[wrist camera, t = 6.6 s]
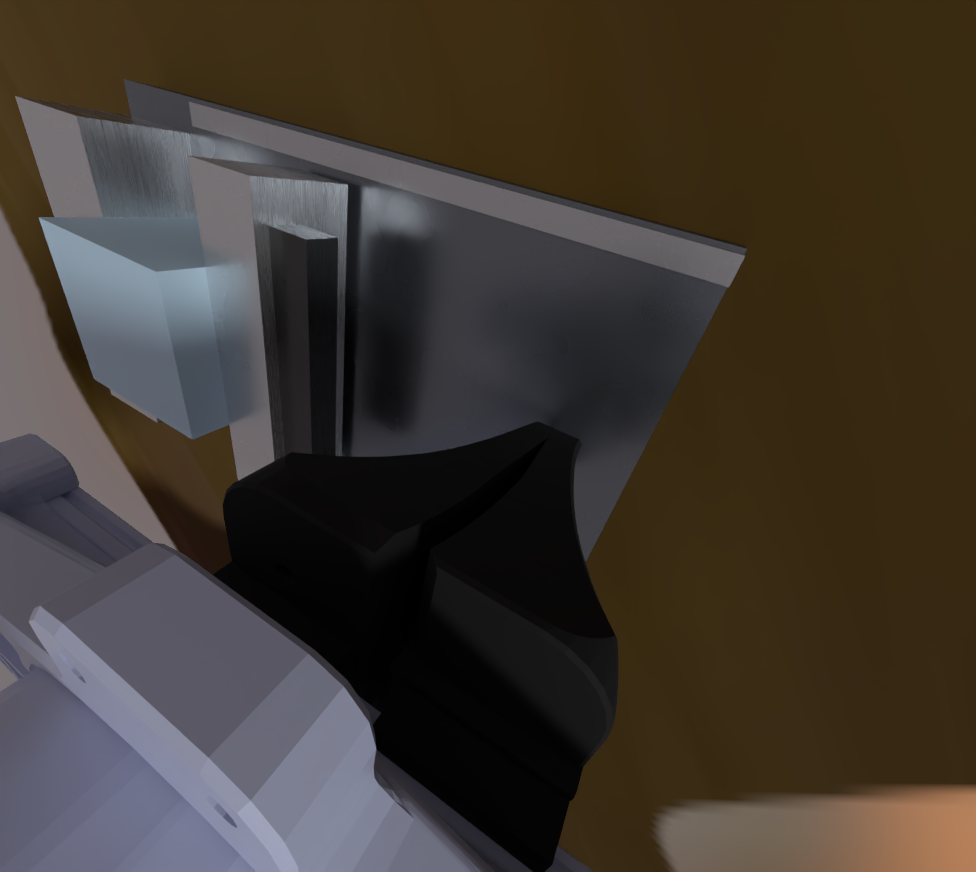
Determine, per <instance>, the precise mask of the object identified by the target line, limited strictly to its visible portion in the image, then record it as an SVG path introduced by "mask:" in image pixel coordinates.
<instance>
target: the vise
mask: <svg viewBox="0 0 976 872" xmlns="http://www.w3.org/2000/svg"><path fill="white" fill-rule="evenodd" d="M124 83H125V88H126V93H127V97H128V102H129V107H130V112H131V116H130V115H124V114H118V113H112V112H107V111H101V110H95V109H89V108H83V107H77V106H72V105H66V104H60V103H54V102H48V101H42V100H37V99H31V98H25V97H19V96H15V97H16V100H17V103H18V107H19V110H20V113H21V116H22V119H23V122H24V125H25V128H26V131H27V134H28V137H29V141H30V144H31V147H32V150H33V153H34V156H35V159H36V162H37V165H38V168H39V171H40V175H41V178H42V181H43V184H44V187H45V190H46V193H47V196H48V199H49V202H50V205H51V209H52V212H53V215H54V217H197V211H196V204H195V198H194V191H193V185H192V178H191V172H190V165H189V159H188V156H197V157H206V158H214V159H223V160H231V161H240V162H249V163H257V164H266V165H275V166H283V167H292V168H297V169H300V170H303V171H306V172H309V173H313V174H316V175H319V176H322V177H325V178H329V179H332V180H335V181H338V182H342V183H345V184H348V202H347V246H346V289H345V333H344V377H343V420H342V456H349V457H381V456H398V455H410V454H421V453H429V452H435V451H441V450H447V449H452V448H456V447H461V446H464V445H468V444H472V443H475V442H479V441H482V440H486V439H489V438H492V437H495V436H498V435H501V434H504V433H507V432H509V431H512V430H515V429H517V428H520V427H523V426H525V425H528V424H531V423H534V422H537V421H539V422H541V423H543V424H545V425H548V426H550V427H552V428H555V429H557V430H559V431H561V432H564V433H566V434H568V435H570V436H573V437H575V438H577V439H580V442H581V444H582V446H581V449H580V451H579V453H578V456H577V458H576V463H575V470H574V508H575V517H576V524H577V530H578V535H579V540H580V545H581V549H582V553H583V556H584V559H585V562H586V560H587V558H588V556H589V554H590V553H591V551H592V549H593V547H594V545H595V543H596V541H597V539H598V537H599V535H600V533H601V531H602V529H603V527H604V525H605V523H606V522H607V520H608V518H609V516H610V514H611V512H612V510H613V508H614V506H615V504H616V502H617V500H618V498H619V496H620V494H621V492H622V490H623V489H624V487H625V485H626V483H627V481H628V479H629V477H630V475H631V473H632V471H633V469H634V467H635V465H636V463H637V461H638V459H639V458H640V456H641V454H642V452H643V450H644V448H645V446H646V444H647V442H648V440H649V438H650V436H651V434H652V432H653V430H654V428H655V426H656V425H657V423H658V421H659V419H660V417H661V415H662V413H663V411H664V409H665V407H666V405H667V403H668V401H669V399H670V397H671V395H672V394H673V392H674V390H675V388H676V386H677V384H678V382H679V380H680V378H681V376H682V374H683V372H684V370H685V368H686V366H687V364H688V362H689V361H690V359H691V357H692V355H693V353H694V351H695V349H696V347H697V345H698V343H699V341H700V339H701V337H702V335H703V333H704V331H705V329H706V328H707V326H708V324H709V322H710V320H711V318H712V316H713V314H714V312H715V310H716V308H717V306H718V304H719V302H720V300H721V298H722V297H723V295H724V293H725V291H726V289H727V287H729V286H730V284H731V282H732V281H733V279H734V277H735V275H736V273H737V271H738V269H739V267H740V265H741V263H742V261H743V259H744V257H745V252H746V250H747V248H746V246H743V245H739V244H736V243H732V242H728V241H725V240H721V239H717V238H713V237H710V236H706V235H702V234H699V233H695V232H691V231H688V230H684V229H680V228H677V227H673V226H669V225H666V224H662V223H658V222H654V221H651V220H647V219H643V218H640V217H636V216H632V215H629V214H625V213H621V212H618V211H614V210H610V209H606V208H603V207H599V206H595V205H592V204H588V203H584V202H581V201H577V200H573V199H570V198H566V197H562V196H559V195H555V194H551V193H547V192H544V191H540V190H536V189H533V188H529V187H525V186H522V185H518V184H514V183H511V182H507V181H503V180H499V179H496V178H492V177H488V176H485V175H481V174H477V173H474V172H470V171H466V170H463V169H459V168H455V167H452V166H448V165H444V164H440V163H437V162H433V161H429V160H426V159H422V158H418V157H415V156H411V155H407V154H404V153H400V152H396V151H392V150H389V149H385V148H381V147H378V146H374V145H370V144H367V143H363V142H359V141H356V140H352V139H348V138H345V137H341V136H337V135H333V134H330V133H326V132H322V131H319V130H315V129H311V128H308V127H304V126H300V125H297V124H293V123H289V122H285V121H282V120H278V119H274V118H271V117H267V116H263V115H260V114H256V113H252V112H249V111H245V110H241V109H237V108H234V107H230V106H226V105H223V104H219V103H215V102H212V101H208V100H204V99H201V98H197V97H193V96H190V95H186V94H182V93H178V92H175V91H171V90H167V89H164V88H160V87H156V86H152V85H148V84H143V83H139V82H135V81H130V80H126V79H124ZM110 391H111V394H112V395H113V396H115V397H117V398H118V399H120V400H121V401H123V402H125V403H126V404H128V405H130V406H131V407H133V408H134V409H136V410H138V411H139V412H141V413H142V414H144V415H146V416H147V417H149V418H150V419H152V420H154V421H155V422H157V423H159V422H162V421H161V420H160V419H158V418H157V417H155V416H153V415H152V414H150V413H148V412H147V411H145V410H144V409H142V408H140V407H139V406H137V405H135V404H134V403H132V402H131V401H129V400H127V399H126V398H124V397H122V396H121V395H119V394H118V393H116V392H114V391H113V390H111V389H110Z"/></svg>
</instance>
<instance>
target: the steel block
mask: <svg viewBox="0 0 976 872" xmlns="http://www.w3.org/2000/svg"><path fill="white" fill-rule="evenodd" d="M39 220H40V223H41V226H42V229H43V232H44V234H45V237H46V240H47V243H48V246H49V249H50V252H51V255H52V258H53V261H54V264H55V267H56V270H57V272H58V275H59V278H60V281H61V284H62V287H63V290H64V293H65V296H66V299H67V302H68V305H69V308H70V310H71V313H72V316H73V319H74V322H75V325H76V328H77V331H78V334H79V337H80V340H81V343H82V345H83V348H84V351H85V354H86V357H87V360H88V363H89V366H90V369H91V372H92V375H93V378H94V379H95V380H96V381H98V382H100V383H101V384H103V385H105V386H106V387H108V388H109V389H111V390H113V391H114V392H116V393H118V394H119V395H121V396H122V397H124V398H126V399H127V400H129V401H131V402H132V403H134V404H135V405H137V406H139V407H140V408H142V409H144V410H145V411H147V412H148V413H150V414H152V415H153V416H155V417H157V418H158V419H160V420H161V421H163V422H165V423H166V424H168V425H169V426H171V427H173V428H174V429H176V430H178V431H179V432H181V433H182V434H184V435H186V436H187V437H189V438H191V439H192V440H193V439H195V438H198V437H200V436H203V435H205V434H208V433H210V432H212V431H215V430H217V429H220V428H222V427H224V426H227V425H229V418H228V412H227V405H226V399H225V392H224V386H223V379H222V373H221V366H220V360H219V353H218V347H217V341H216V334H215V328H214V321H213V315H212V308H211V302H210V295H209V289H208V282H207V276H206V269H205V263H204V256H203V250H202V243H201V237H200V230H199V224H198V217H39Z"/></svg>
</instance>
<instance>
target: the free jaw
mask: <svg viewBox="0 0 976 872" xmlns="http://www.w3.org/2000/svg"><path fill="white" fill-rule="evenodd" d="M188 159H189V165H190V172H191V178H192V185H193V191H194V198H195V204H196V211H197V217H198V224H199V230H200V237H201V243H202V250H203V256H204V263H205V269H206V276H207V282H208V289H209V295H210V302H211V308H212V315H213V321H214V328H215V334H216V341H217V347H218V353H219V360H220V366H221V373H222V379H223V386H224V392H225V399H226V405H227V412H228V418H229V425H230V431H231V438H232V444H233V451H234V457H235V464H236V470H237V477H238V481H239V480H240V479H242V478H244V477H246V476H248V475H250V474H252V473H253V472H255V471H257V470H259V469H261V468H263V467H265V466H266V465H268V464H270V463H272V462H274V461H276V460H277V459H279V458H281V457H283V456H285V455H287V454H289V453H291V452H296V453H306V454H319V455H331V456H342V420H343V377H344V333H345V289H346V246H347V202H348V184H345V183H342V182H338V181H335V180H332V179H329V178H325V177H322V176H319V175H316V174H313V173H309V172H306V171H303V170H300V169H297V168H292V167H283V166H275V165H266V164H257V163H249V162H240V161H231V160H223V159H214V158H206V157H197V156H188Z"/></svg>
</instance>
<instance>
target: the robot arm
mask: <svg viewBox="0 0 976 872" xmlns="http://www.w3.org/2000/svg"><path fill="white" fill-rule="evenodd" d="M581 446H582V444H581V442H580V439H577V438H575V437H573V436H570V435H568V434H566V433H564V432H561V431H559V430H557V429H555V428H552V427H550V426H548V425H545V424H543V423H541V422H539V421H537V422H534V423H531V424H528V425H525V426H523V427H520V428H517V429H515V430H512V431H509V432H507V433H504V434H501V435H498V436H495V437H492V438H489V439H486V440H482V441H479V442H475V443H472V444H468V445H464V446H461V447H456V448H452V449H447V450H441V451H435V452H429V453H421V454H410V455H398V456H381V457H349V456H331V455H319V454H306V453H296V452H291V453H289V454H287V455H285V456H283V457H281V458H279V459H277V460H276V461H274V462H272V463H270V464H268V465H266V466H265V467H263V468H261V469H259V470H257V471H255V472H253V473H252V474H250V475H248V476H246V477H244V478H242V479H240V480H239V481H237V482H235V483H233V484H232V485H231V486H230V487H229V488H228V489H227V491H226V495H225V498H224V502H223V513H224V521H225V526H226V531H227V536H228V541H229V546H230V552H231V557H232V562H230V563H229V564H228V565H226V566H225V567H223V568H222V569H220V570H219V571H217V572H216V573H215V574H213V575H212V574H210V573H209V572H208V571H206V570H205V569H204V568H202V567H201V566H199V565H198V564H197V563H195V562H194V561H193V560H191V559H190V558H189V557H187V556H186V555H184V554H182V553H180V552H178V551H176V550H174V549H172V548H170V547H168V546H166V545H165V544H158V543H153V542H152V541H150V540H149V539H148V538H146V537H145V536H144V535H142V534H141V533H140V532H138V531H137V530H136V529H134V528H133V527H132V526H130V525H129V524H128V523H126V522H125V521H124V520H122V519H121V518H120V517H118V516H117V515H116V514H114V513H113V512H112V511H110V510H109V509H108V508H106V507H105V506H104V505H102V504H101V503H100V502H98V501H97V500H96V499H94V498H93V497H91V496H90V495H89V494H87V493H86V492H85V491H84V490H82V489H81V488H79V487H78V485H79V482H78V479H77V476H76V474H75V472H74V469H73V468H72V466H71V464H70V463H69V461H68V460H67V459H66V457H64V456H63V455H62V454H61V453H60V452H59V451H58V450H56V449H55V448H53V447H52V446H51V445H49V444H48V443H46V442H45V441H44V440H42V439H41V438H40V437H38V436H37V435H34V434H27V435H24V436H21V437H18V438H14V439H11V440H8V441H5V442H1V443H0V661H1V662H2V663H3V664H4V665H5V666H6V667H7V668H8V669H9V671H10V672H11V673H12V674H13V675H14V676H15V677H16V678H17V679H18V681H16V682H14V683H13V684H11V685H10V686H8V687H7V688H5V689H4V690H2V691H1V692H0V872H594V871H592V870H591V869H590V868H588V867H587V866H586V865H584V864H583V863H582V862H580V861H579V860H578V859H576V858H575V857H573V856H572V855H571V854H569V853H568V852H567V851H565V850H564V849H563V848H561V847H560V846H559V845H558V842H559V839H560V835H561V831H562V827H563V824H564V820H565V816H566V813H567V809H568V805H569V801H570V800H572V799H573V798H574V796H575V794H576V791H577V788H578V784H579V780H580V777H581V773H582V769H583V766H584V765H585V764H586V763H587V761H588V760H589V759H590V758H591V757H592V756H593V754H594V753H595V752H596V751H597V750H598V748H599V747H600V746H601V745H602V744H603V743H604V741H605V740H606V739H607V737H608V735H609V733H610V731H611V729H612V727H613V723H614V718H615V713H616V704H617V692H618V645H617V638H616V636H615V634H614V632H613V630H612V628H611V626H610V624H609V622H608V620H607V618H606V615H605V613H604V611H603V609H602V607H601V605H600V603H599V600H598V597H597V595H596V592H595V590H594V587H593V584H592V582H591V579H590V576H589V572H588V569H587V566H586V563H585V559H584V556H583V553H582V549H581V545H580V540H579V535H578V530H577V524H576V517H575V508H574V470H575V463H576V458H577V456H578V453H579V451H580V449H581Z"/></svg>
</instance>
